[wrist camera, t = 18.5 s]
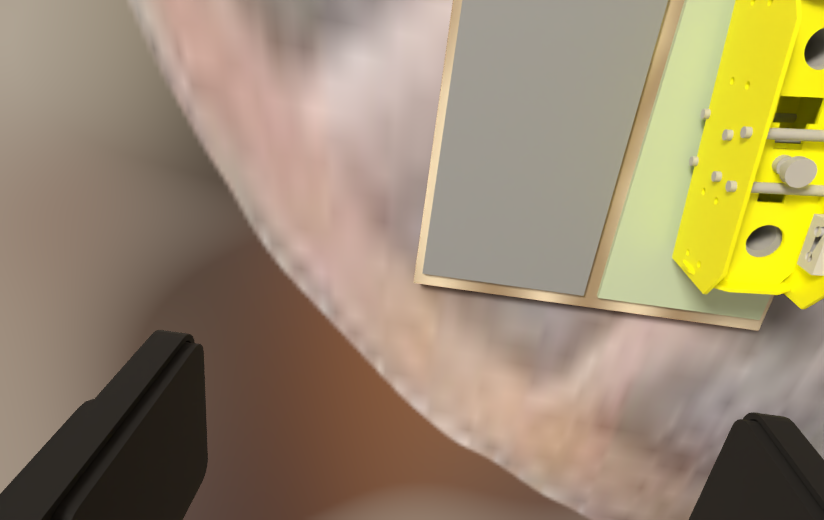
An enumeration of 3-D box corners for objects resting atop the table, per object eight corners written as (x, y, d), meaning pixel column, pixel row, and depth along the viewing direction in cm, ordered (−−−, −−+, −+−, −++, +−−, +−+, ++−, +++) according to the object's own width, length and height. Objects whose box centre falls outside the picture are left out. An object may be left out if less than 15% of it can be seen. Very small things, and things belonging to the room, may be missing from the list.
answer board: (901, -23, 31) (923, -24, 30) (750, 321, 40) (761, 333, 39) (464, -82, 31) (465, -86, 30) (414, 275, 40) (413, 285, 39)
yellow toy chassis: (752, 256, 37) (831, 324, 29) (662, 252, 37) (717, 317, 29) (839, -21, 30) (971, -27, 22) (728, -25, 30) (822, -32, 22)
